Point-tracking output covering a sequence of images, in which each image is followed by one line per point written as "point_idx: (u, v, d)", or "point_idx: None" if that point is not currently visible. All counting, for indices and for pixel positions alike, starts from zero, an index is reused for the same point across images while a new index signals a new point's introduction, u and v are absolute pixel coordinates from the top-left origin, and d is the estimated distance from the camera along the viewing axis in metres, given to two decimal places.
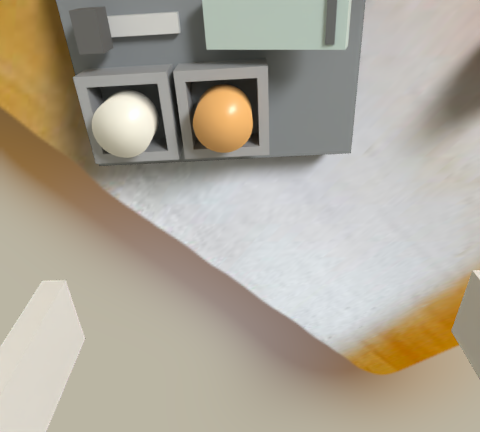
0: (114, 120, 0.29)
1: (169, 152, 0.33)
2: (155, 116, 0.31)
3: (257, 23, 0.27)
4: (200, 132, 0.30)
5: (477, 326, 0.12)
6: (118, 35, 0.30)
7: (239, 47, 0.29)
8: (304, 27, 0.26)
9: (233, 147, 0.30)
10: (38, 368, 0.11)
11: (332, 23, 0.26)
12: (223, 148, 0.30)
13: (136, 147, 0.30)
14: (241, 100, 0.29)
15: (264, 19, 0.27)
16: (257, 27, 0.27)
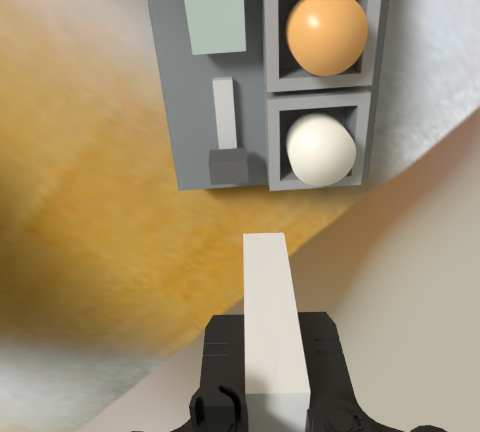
0: (311, 163, 0.27)
1: (360, 104, 0.27)
2: (315, 116, 0.28)
3: None
4: (336, 67, 0.24)
5: None
6: (235, 141, 0.31)
7: (241, 10, 0.24)
8: None
9: (362, 22, 0.23)
10: None
11: None
12: (361, 36, 0.23)
13: (344, 144, 0.26)
14: (300, 10, 0.22)
15: None
16: None
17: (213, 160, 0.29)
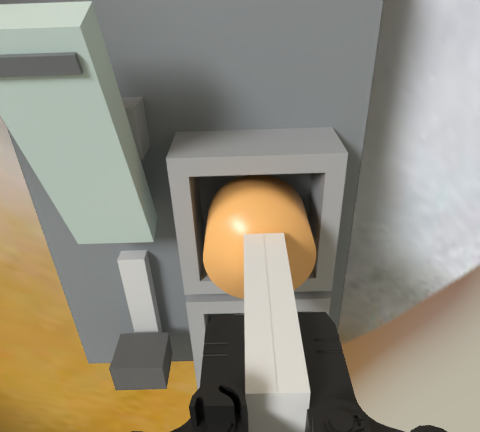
0: None
1: (316, 309, 0.20)
2: None
3: (90, 183, 0.15)
4: None
5: None
6: (154, 323, 0.23)
7: (137, 205, 0.16)
8: (65, 114, 0.13)
9: (307, 244, 0.15)
10: None
11: (32, 62, 0.11)
12: (307, 259, 0.16)
13: None
14: (215, 225, 0.15)
15: (79, 174, 0.15)
16: (97, 184, 0.15)
17: (117, 361, 0.21)
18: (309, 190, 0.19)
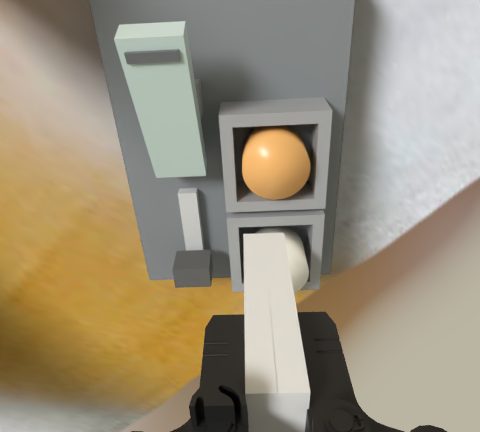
0: None
1: (315, 223, 0.29)
2: None
3: (172, 131, 0.25)
4: (283, 192, 0.27)
5: None
6: (201, 243, 0.32)
7: (199, 147, 0.26)
8: (165, 85, 0.22)
9: (304, 159, 0.25)
10: None
11: (154, 55, 0.21)
12: (304, 170, 0.26)
13: (297, 264, 0.28)
14: (249, 148, 0.25)
15: (166, 124, 0.24)
16: (176, 131, 0.25)
17: (177, 266, 0.31)
18: (309, 142, 0.29)
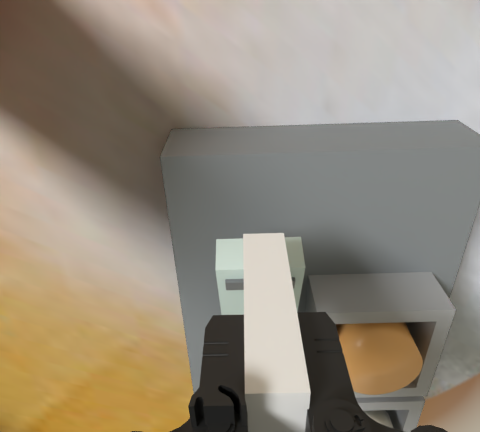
0: None
1: (411, 408, 0.24)
2: None
3: None
4: (385, 389, 0.22)
5: None
6: None
7: None
8: None
9: (417, 360, 0.21)
10: None
11: None
12: (415, 369, 0.21)
13: None
14: (352, 348, 0.21)
15: None
16: None
17: None
18: None
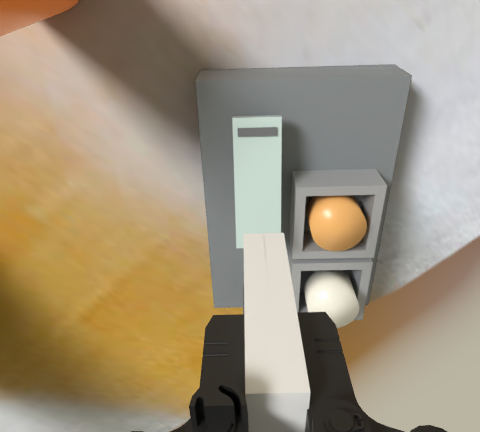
0: None
1: (364, 269, 0.35)
2: (328, 275, 0.35)
3: (259, 198, 0.30)
4: (342, 246, 0.33)
5: None
6: None
7: (279, 216, 0.31)
8: (262, 156, 0.29)
9: (362, 222, 0.32)
10: None
11: (259, 130, 0.28)
12: (361, 229, 0.32)
13: (350, 303, 0.34)
14: (319, 212, 0.32)
15: (256, 192, 0.30)
16: (262, 199, 0.30)
17: None
18: (361, 202, 0.35)
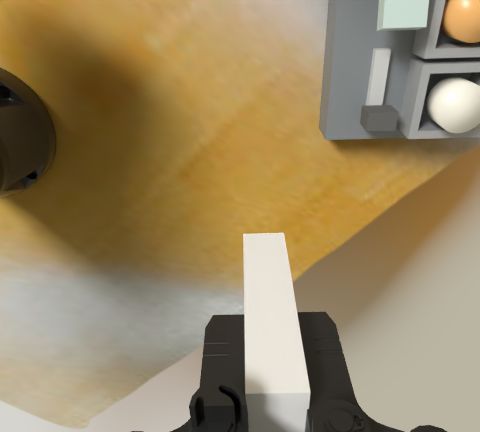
0: (453, 114, 0.36)
1: None
2: (456, 79, 0.36)
3: None
4: (479, 36, 0.34)
5: None
6: (382, 99, 0.40)
7: None
8: None
9: None
10: None
11: None
12: None
13: None
14: None
15: None
16: None
17: (371, 111, 0.38)
18: None
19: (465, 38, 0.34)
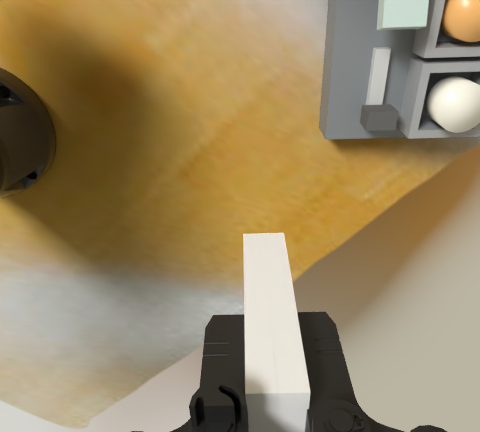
0: (453, 113, 0.36)
1: None
2: (456, 78, 0.36)
3: None
4: (479, 35, 0.34)
5: None
6: (382, 98, 0.40)
7: None
8: None
9: None
10: None
11: None
12: None
13: None
14: None
15: None
16: None
17: (371, 111, 0.38)
18: None
19: (465, 37, 0.34)
